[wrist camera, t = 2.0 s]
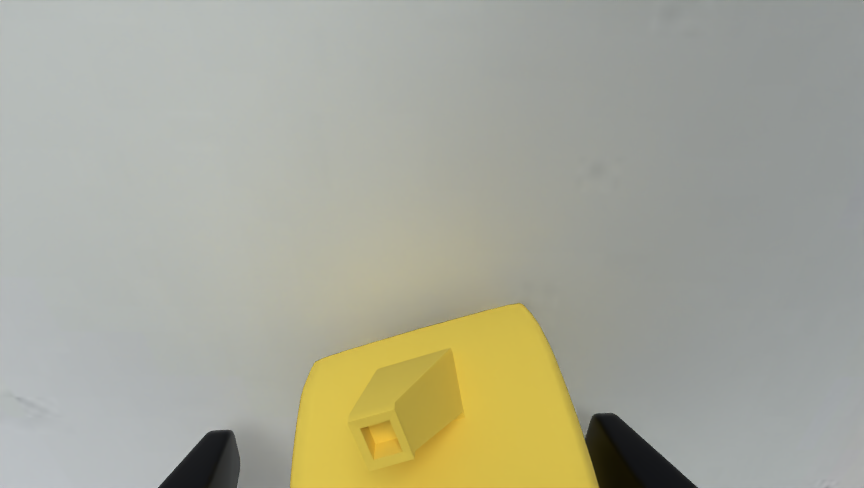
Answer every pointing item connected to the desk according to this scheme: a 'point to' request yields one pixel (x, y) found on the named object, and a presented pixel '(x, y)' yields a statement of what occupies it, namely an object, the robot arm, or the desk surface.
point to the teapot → (443, 411)
